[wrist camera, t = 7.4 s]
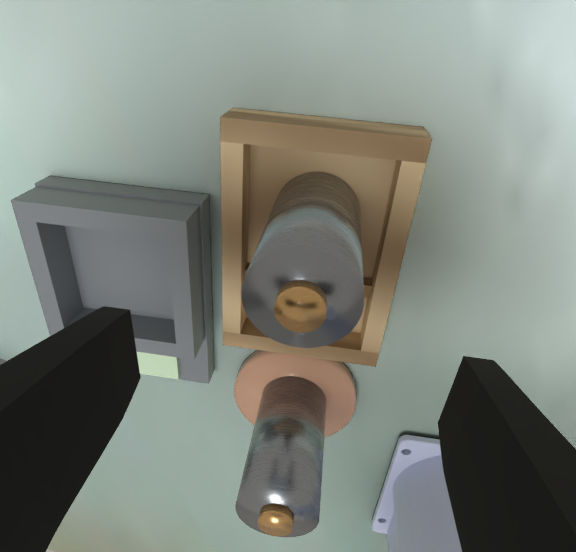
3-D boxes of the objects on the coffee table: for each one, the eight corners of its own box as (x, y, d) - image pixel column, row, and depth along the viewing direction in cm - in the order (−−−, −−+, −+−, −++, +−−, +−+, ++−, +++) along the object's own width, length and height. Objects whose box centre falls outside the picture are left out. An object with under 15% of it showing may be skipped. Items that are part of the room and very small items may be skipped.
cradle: (214, 370, 23) (199, 407, 21) (90, 351, 23) (63, 386, 21) (209, 194, 17) (188, 219, 15) (49, 175, 18) (7, 197, 16)
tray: (373, 340, 20) (375, 366, 19) (232, 321, 21) (222, 344, 19) (423, 126, 15) (431, 138, 14) (233, 107, 16) (220, 117, 14)
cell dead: (322, 426, 23) (313, 555, 17) (260, 417, 23) (232, 541, 17) (330, 381, 21) (323, 509, 15) (263, 371, 21) (232, 494, 16)
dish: (346, 436, 24) (346, 448, 23) (236, 419, 25) (233, 430, 24) (364, 352, 21) (365, 363, 20) (238, 334, 21) (234, 345, 21)
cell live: (351, 257, 17) (351, 368, 12) (271, 244, 18) (234, 348, 12) (368, 178, 16) (377, 268, 10) (278, 165, 16) (240, 246, 10)
